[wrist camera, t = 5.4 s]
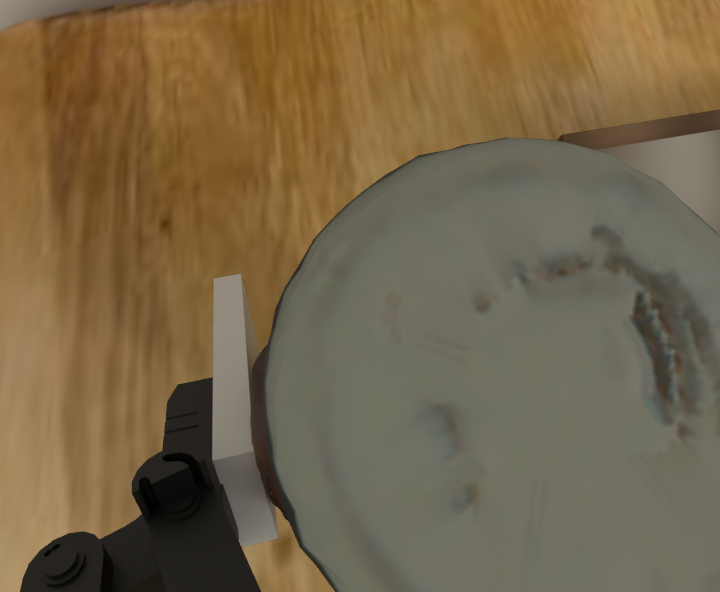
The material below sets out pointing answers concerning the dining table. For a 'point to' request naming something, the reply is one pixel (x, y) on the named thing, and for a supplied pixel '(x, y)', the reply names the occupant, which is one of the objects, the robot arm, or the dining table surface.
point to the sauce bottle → (500, 381)
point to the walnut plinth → (669, 156)
